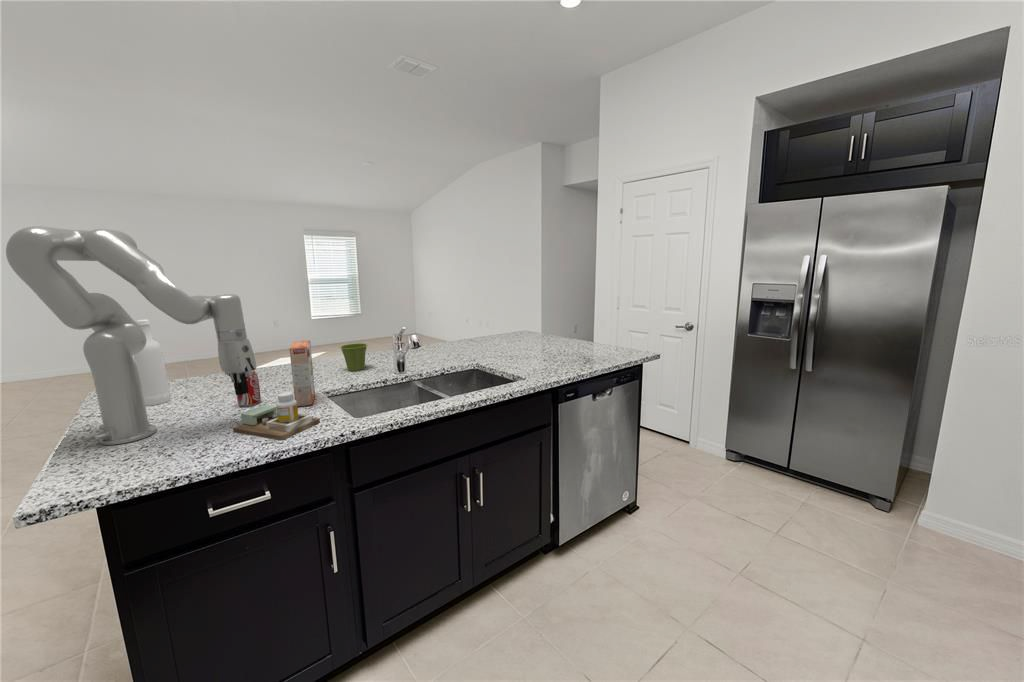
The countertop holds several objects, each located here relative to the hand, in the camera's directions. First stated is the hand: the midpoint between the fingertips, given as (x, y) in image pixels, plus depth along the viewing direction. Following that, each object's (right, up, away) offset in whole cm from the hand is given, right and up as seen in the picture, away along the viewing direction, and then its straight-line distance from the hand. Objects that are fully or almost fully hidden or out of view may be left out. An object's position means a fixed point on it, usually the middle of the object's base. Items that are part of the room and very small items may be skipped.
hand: (242, 393), depth 132 cm
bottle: (-45, -6, +22) cm, 50 cm away
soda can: (-9, -6, +18) cm, 21 cm away
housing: (+6, -8, -1) cm, 10 cm away
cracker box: (+10, -5, +21) cm, 24 cm away
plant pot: (+12, +3, +64) cm, 65 cm away
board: (+13, -10, -4) cm, 16 cm away
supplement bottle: (+17, -9, -6) cm, 20 cm away
